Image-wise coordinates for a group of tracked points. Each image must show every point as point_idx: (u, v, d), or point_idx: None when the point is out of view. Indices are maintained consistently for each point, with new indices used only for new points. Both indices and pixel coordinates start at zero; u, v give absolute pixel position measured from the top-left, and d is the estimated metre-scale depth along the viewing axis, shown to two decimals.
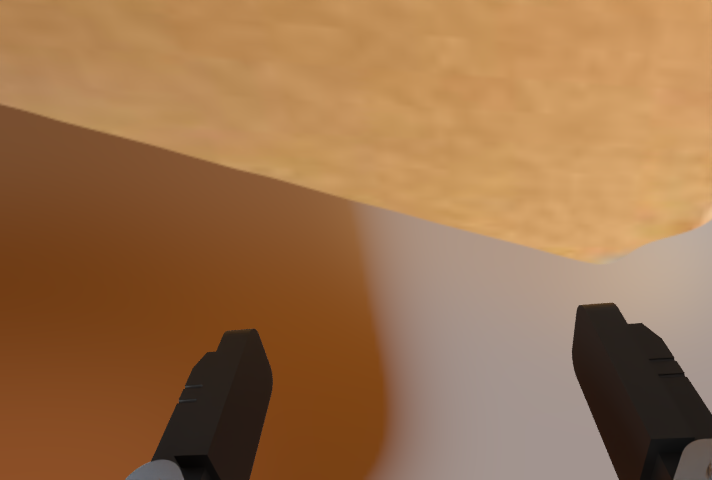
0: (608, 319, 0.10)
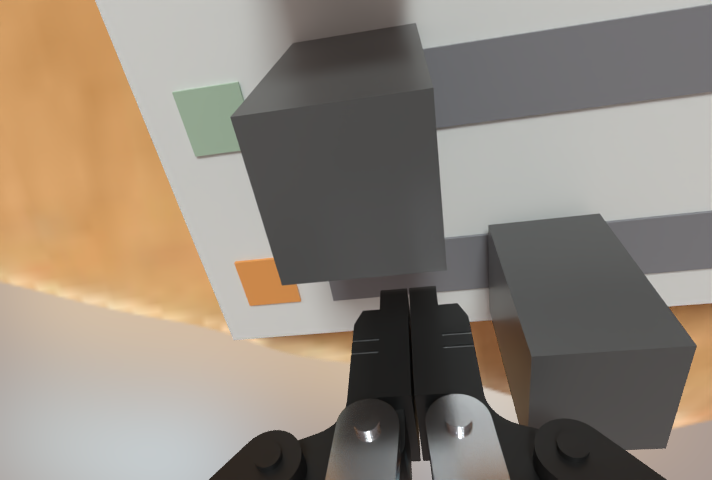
0: (424, 299, 0.12)
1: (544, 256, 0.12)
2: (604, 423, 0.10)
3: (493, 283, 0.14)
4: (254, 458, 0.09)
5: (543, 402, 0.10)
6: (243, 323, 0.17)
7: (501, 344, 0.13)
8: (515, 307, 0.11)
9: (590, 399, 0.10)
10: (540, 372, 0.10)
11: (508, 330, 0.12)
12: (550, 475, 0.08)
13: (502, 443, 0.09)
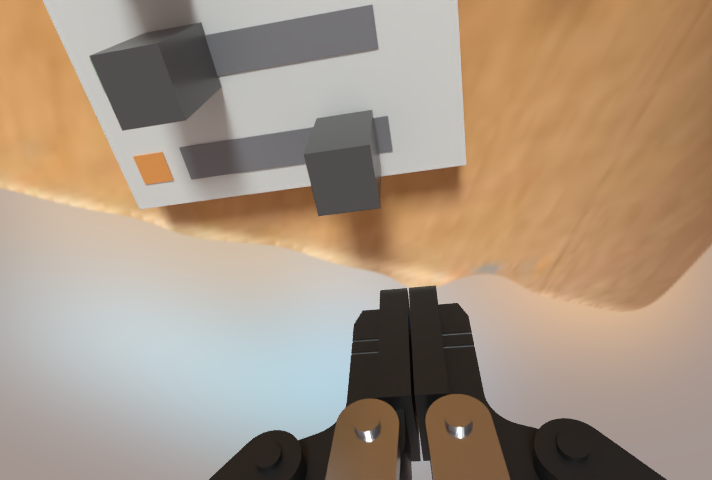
0: (424, 299, 0.12)
1: (333, 126, 0.24)
2: (347, 193, 0.22)
3: None
4: (254, 458, 0.09)
5: (316, 181, 0.22)
6: (143, 197, 0.29)
7: None
8: (308, 142, 0.23)
9: (336, 178, 0.22)
10: (309, 163, 0.22)
11: None
12: (550, 475, 0.08)
13: (502, 443, 0.09)
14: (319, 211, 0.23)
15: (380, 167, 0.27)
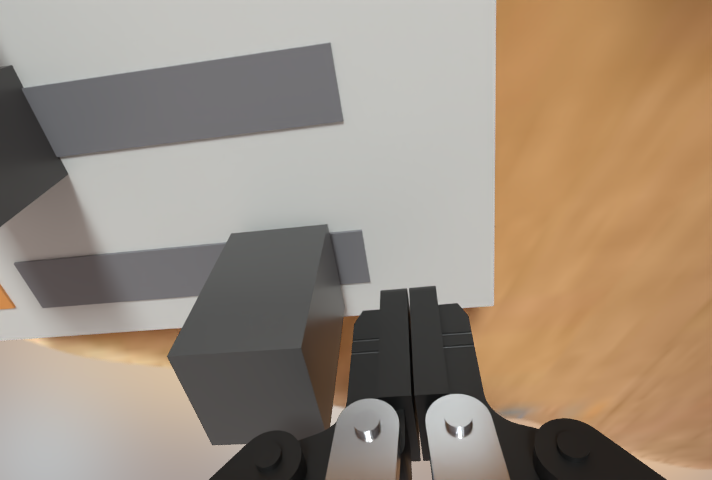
0: (424, 299, 0.12)
1: (251, 264, 0.13)
2: (263, 417, 0.11)
3: None
4: (254, 458, 0.09)
5: (200, 398, 0.11)
6: None
7: None
8: (192, 311, 0.12)
9: (238, 395, 0.11)
10: (182, 370, 0.11)
11: None
12: (550, 475, 0.08)
13: (502, 443, 0.09)
14: (213, 439, 0.12)
15: (343, 313, 0.15)
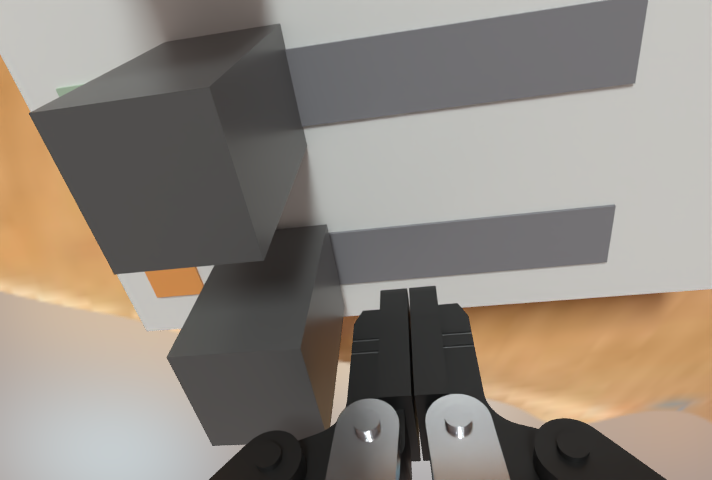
0: (424, 299, 0.12)
1: (250, 264, 0.13)
2: (263, 418, 0.11)
3: None
4: (254, 458, 0.09)
5: (200, 398, 0.11)
6: (154, 314, 0.17)
7: None
8: (191, 312, 0.12)
9: (239, 396, 0.11)
10: (181, 371, 0.11)
11: None
12: (550, 475, 0.08)
13: (502, 443, 0.09)
14: (213, 439, 0.12)
15: (343, 313, 0.15)
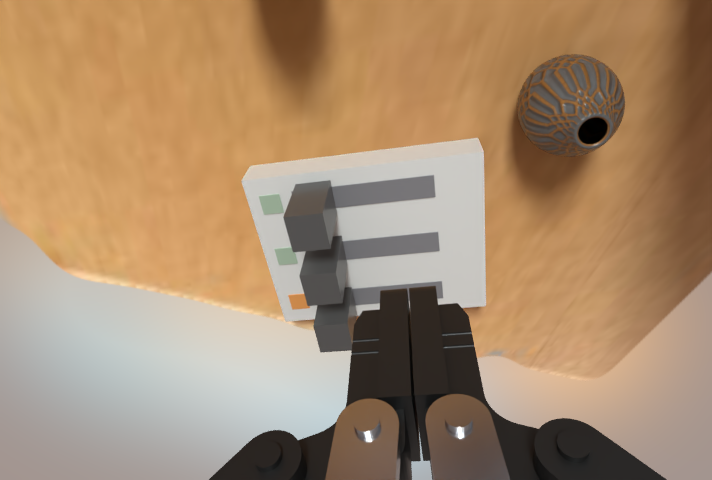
0: (424, 299, 0.12)
1: None
2: (336, 343, 0.43)
3: None
4: (254, 458, 0.09)
5: (319, 337, 0.42)
6: (289, 315, 0.49)
7: None
8: (316, 314, 0.43)
9: (330, 336, 0.42)
10: (316, 329, 0.42)
11: None
12: (550, 475, 0.08)
13: (502, 443, 0.09)
14: (321, 350, 0.43)
15: None
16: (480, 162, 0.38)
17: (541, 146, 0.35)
